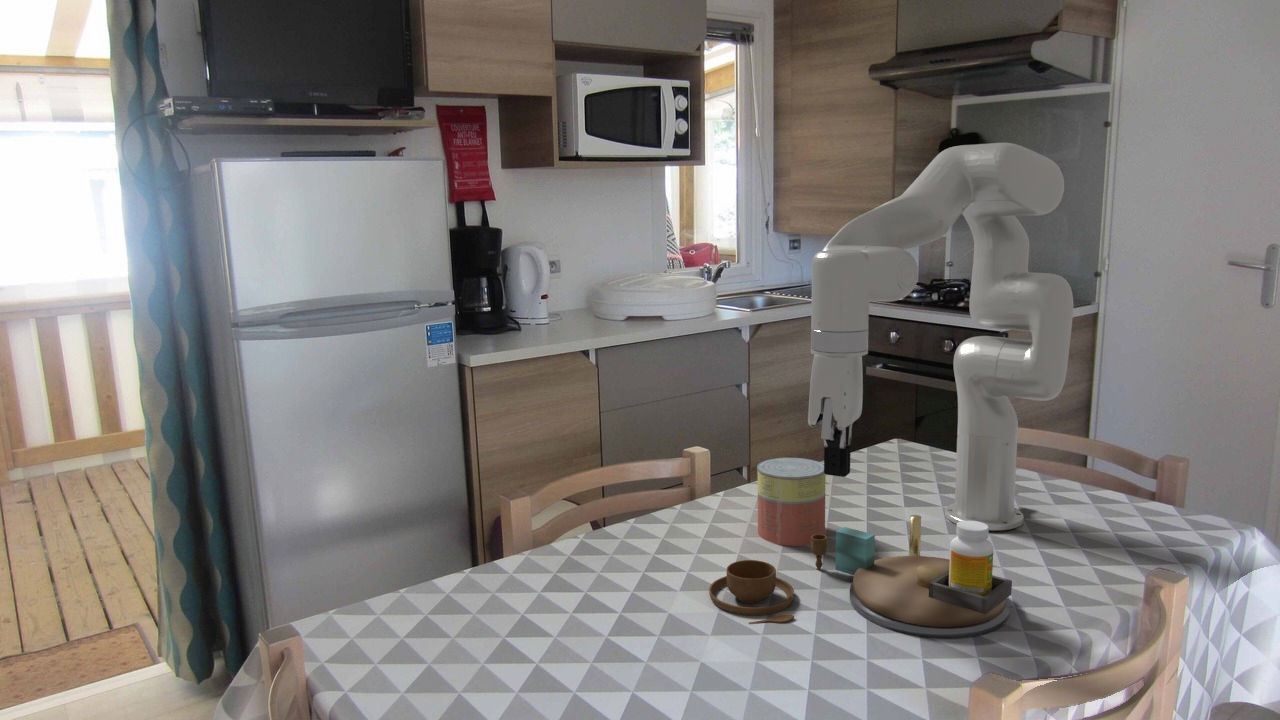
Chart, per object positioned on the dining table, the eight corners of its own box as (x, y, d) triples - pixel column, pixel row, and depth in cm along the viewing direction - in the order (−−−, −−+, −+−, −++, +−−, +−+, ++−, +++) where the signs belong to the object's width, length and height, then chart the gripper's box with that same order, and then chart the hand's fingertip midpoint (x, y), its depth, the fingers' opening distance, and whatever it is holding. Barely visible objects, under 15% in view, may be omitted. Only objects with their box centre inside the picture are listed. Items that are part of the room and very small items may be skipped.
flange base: (897, 560, 141) (898, 510, 139) (1035, 598, 126) (1038, 543, 125) (820, 605, 126) (820, 550, 124) (966, 655, 111) (969, 593, 110)
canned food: (817, 523, 158) (817, 456, 156) (832, 547, 147) (833, 475, 145) (752, 525, 158) (752, 458, 156) (763, 549, 147) (762, 478, 145)
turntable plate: (1029, 590, 126) (1031, 549, 125) (964, 642, 112) (966, 596, 111) (874, 548, 142) (875, 511, 141) (801, 588, 128) (801, 548, 127)
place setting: (696, 580, 137) (695, 542, 136) (823, 568, 140) (823, 531, 139) (725, 633, 120) (725, 590, 119) (869, 618, 123) (870, 577, 122)
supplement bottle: (994, 604, 118) (997, 533, 117) (950, 601, 120) (953, 531, 118) (988, 587, 124) (991, 519, 122) (946, 584, 125) (949, 517, 123)
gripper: (829, 333, 131) (827, 458, 134) (793, 348, 118) (792, 485, 121) (881, 336, 127) (878, 464, 130) (850, 352, 114) (847, 493, 117)
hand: (836, 474), depth 125 cm, fingers closed
